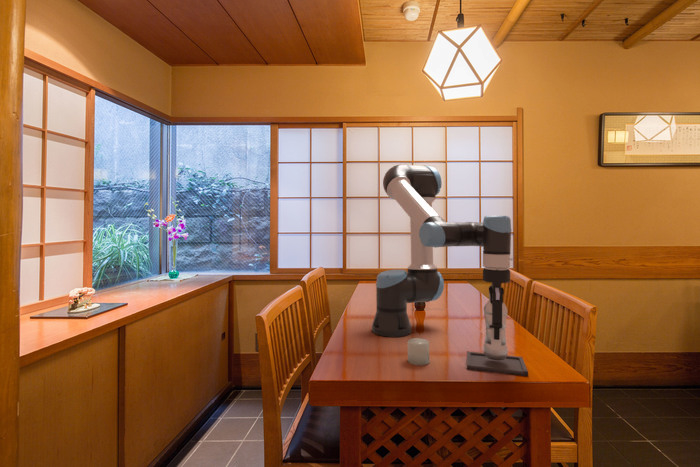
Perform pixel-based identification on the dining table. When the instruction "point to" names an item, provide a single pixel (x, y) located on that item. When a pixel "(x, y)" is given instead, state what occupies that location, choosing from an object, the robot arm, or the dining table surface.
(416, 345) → the white rounded cylinder
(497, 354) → the plastic bottle
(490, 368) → the tray
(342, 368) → the dining table surface
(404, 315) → the robot arm
